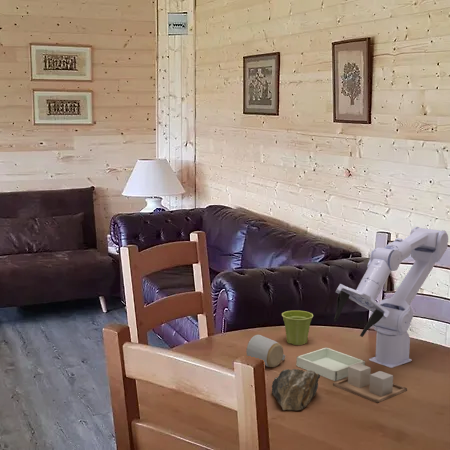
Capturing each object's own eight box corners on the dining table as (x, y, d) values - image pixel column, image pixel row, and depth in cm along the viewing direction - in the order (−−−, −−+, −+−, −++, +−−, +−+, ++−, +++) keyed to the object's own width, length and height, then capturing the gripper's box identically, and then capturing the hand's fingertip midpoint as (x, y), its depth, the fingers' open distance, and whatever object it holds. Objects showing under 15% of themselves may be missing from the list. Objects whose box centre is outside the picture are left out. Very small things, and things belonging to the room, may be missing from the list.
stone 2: (379, 387, 179) (380, 370, 178) (392, 392, 176) (393, 375, 175) (369, 391, 177) (370, 374, 176) (382, 396, 174) (383, 379, 173)
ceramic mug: (268, 371, 191) (269, 344, 189) (245, 364, 196) (246, 337, 195) (292, 362, 198) (293, 335, 197) (269, 355, 204) (270, 329, 203)
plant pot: (278, 337, 218) (279, 310, 217) (308, 336, 219) (309, 309, 218) (284, 347, 209) (285, 319, 208) (315, 346, 210) (316, 318, 209)
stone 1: (357, 379, 184) (358, 363, 184) (370, 384, 181) (370, 367, 181) (347, 383, 182) (348, 366, 181) (359, 388, 179) (360, 371, 178)
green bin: (325, 357, 201) (326, 347, 201) (364, 371, 191) (365, 361, 190) (296, 367, 194) (296, 356, 193) (335, 382, 183) (335, 371, 183)
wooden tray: (363, 375, 188) (363, 371, 188) (407, 391, 178) (407, 388, 177) (332, 386, 181) (333, 383, 180) (376, 404, 170) (377, 400, 170)
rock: (298, 416, 164) (308, 375, 163) (256, 401, 169) (265, 360, 168) (318, 406, 177) (327, 367, 176) (278, 391, 182) (287, 354, 181)
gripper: (350, 265, 183) (327, 307, 178) (400, 294, 181) (378, 337, 175) (343, 276, 190) (321, 316, 184) (392, 303, 187) (370, 345, 182)
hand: (348, 327), depth 180 cm, fingers open, 7 cm apart
